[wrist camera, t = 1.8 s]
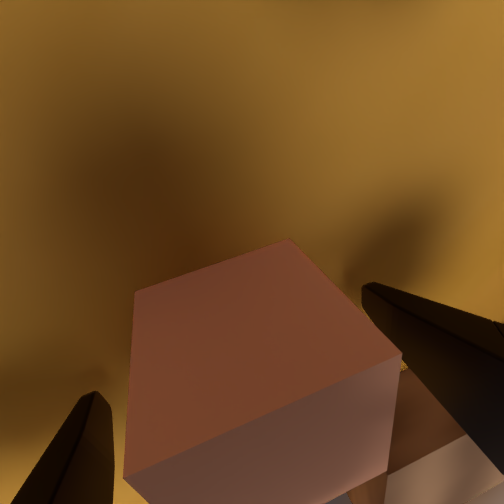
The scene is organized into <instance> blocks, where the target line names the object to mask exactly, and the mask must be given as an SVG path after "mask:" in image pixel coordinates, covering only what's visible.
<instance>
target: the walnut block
mask: <svg viewBox="0 0 504 504" xmlns="http://www.w3.org/2000/svg"><path fill="white" fill-rule="evenodd" d="M503 481H504V475H502V474H501V473H500V471H499V470H498V469H497V468H496V467H495V466H494V464H493V463H492V462H491V461H490V460H489V459H488V458H487V456H486V455H485V454H484V453H483V452H482V451H481V450H480V448H479V447H478V446H477V445H476V444H475V443H474V442H473V440H472V439H471V438H470V437H469V436H468V435H467V434H466V432H465V431H464V430H463V429H462V428H461V427H460V426H459V424H458V423H457V422H456V421H455V420H454V419H453V418H452V416H451V415H450V414H449V413H448V412H447V411H446V410H445V408H444V407H443V406H442V405H441V404H440V403H439V401H438V400H437V399H436V398H435V397H434V396H433V395H432V393H431V392H430V391H429V390H428V389H427V388H426V387H425V385H424V384H423V383H422V382H421V381H420V380H419V379H418V377H417V376H416V375H415V374H414V373H413V372H412V371H411V369H410V368H408V369H406V370H404V371H401V372H400V375H399V383H398V390H397V398H396V405H395V413H394V421H393V428H392V436H391V444H390V451H389V459H388V466H387V471H386V472H384V473H382V474H380V475H378V476H376V477H374V478H372V479H370V480H368V481H366V482H365V483H363V484H361V485H359V486H357V487H355V488H353V489H351V490H349V491H347V494H348V496H349V498H350V500H351V502H352V504H465V503H467V502H468V501H470V500H472V499H474V498H475V497H477V496H479V495H481V494H482V493H484V492H486V491H488V490H489V489H491V488H493V487H494V486H496V485H498V484H500V483H502V482H503Z"/></svg>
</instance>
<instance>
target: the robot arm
mask: <svg viewBox="0 0 504 504" xmlns="http://www.w3.org/2000/svg"><path fill="white" fill-rule="evenodd" d="M362 306H363V308H364V310H365V312H366V313H367V314H368V316H369V317H370V319H371V320H372V321H373V323H374V324H375V326H376V327H377V328H378V329H379V330H380V331H381V332H382V333H383V334H384V335H385V336H386V337H387V338H388V339H389V340H390V341H391V342H392V343H393V344H394V345H395V346H396V347H397V348H398V349H399V350H400V351H401V352H402V360H403V361H404V363H405V364H406V365H407V366H408V367H409V368H410V369H411V371H412V372H413V373H414V374H415V375H416V376H417V377H418V379H419V380H420V381H421V382H422V383H423V384H424V385H425V387H426V388H427V389H428V390H429V391H430V392H431V393H432V395H433V396H434V397H435V398H436V399H437V400H438V401H439V403H440V404H441V405H442V406H443V407H444V408H445V410H446V411H447V412H448V413H449V414H450V415H451V416H452V418H453V419H454V420H455V421H456V422H457V423H458V424H459V426H460V427H461V428H462V429H463V430H464V431H465V432H466V434H467V435H468V436H469V437H470V438H471V439H472V440H473V442H474V443H475V444H476V445H477V446H478V447H479V448H480V450H481V451H482V452H483V453H484V454H485V455H486V456H487V458H488V459H489V460H490V461H491V462H492V463H493V464H494V466H495V467H496V468H497V469H498V470H499V471H500V473H501V474H502V475H504V324H502V323H499V322H496V321H493V322H492V320H490V319H487V318H484V317H480V316H477V315H474V314H471V313H468V312H465V311H462V310H459V309H456V308H453V307H450V306H447V305H444V304H441V303H438V302H435V301H432V300H429V299H425V298H422V297H419V296H416V295H413V294H410V293H407V292H404V291H401V290H398V289H395V288H392V287H389V286H386V285H383V284H380V283H377V282H370V283H368V284H365V285H363V286H362ZM114 470H115V461H114V441H113V422H112V410H111V407H110V405H109V403H108V402H107V401H106V400H105V399H104V397H103V396H102V395H101V394H100V393H99V392H98V391H93V392H90V393H88V394H85V395H83V396H82V397H81V398H80V399H79V400H78V402H77V403H76V405H75V406H74V408H73V410H72V411H71V413H70V414H69V416H68V417H67V419H66V420H65V422H64V423H63V425H62V426H61V428H60V429H59V431H58V432H57V434H56V435H55V437H54V438H53V440H52V441H51V443H50V444H49V446H48V447H47V449H46V450H45V452H44V453H43V455H42V456H41V458H40V460H39V461H38V463H37V464H36V466H35V467H34V469H33V470H32V472H31V473H30V475H29V476H28V478H27V479H26V481H25V482H24V484H23V485H22V487H21V488H20V490H19V491H18V493H17V494H16V496H15V497H14V499H13V500H12V502H11V503H10V504H113V491H114Z"/></svg>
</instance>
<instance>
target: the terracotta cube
mask: <svg viewBox="0 0 504 504" xmlns="http://www.w3.org/2000/svg"><path fill="white" fill-rule="evenodd" d="M401 360H402V352H401V351H400V350H399V349H398V348H397V347H396V346H395V345H394V344H393V343H392V342H391V341H390V340H389V339H388V338H387V337H386V336H385V335H384V334H383V333H382V332H381V331H380V330H379V329H378V328H377V327H376V326H375V325H374V324H373V323H372V322H371V321H370V320H369V319H368V318H367V317H366V316H365V315H364V314H363V313H362V312H361V311H360V310H359V309H358V308H357V306H356V305H355V304H354V303H353V302H352V301H351V300H350V299H349V298H348V297H347V296H346V295H345V294H344V293H343V292H342V291H341V290H340V289H339V288H338V287H337V286H336V285H335V284H334V283H333V282H332V281H331V280H330V279H329V278H328V277H327V276H326V275H325V274H324V273H323V272H322V271H321V270H320V269H319V268H318V267H317V266H316V265H315V264H314V263H313V262H312V261H311V260H310V259H309V258H308V257H307V256H306V255H305V254H304V253H303V252H302V251H301V250H300V249H299V248H298V247H297V246H296V245H295V244H294V242H293V241H292V240H291V239H290V238H288V239H285V240H283V241H280V242H277V243H274V244H271V245H268V246H265V247H262V248H259V249H257V250H254V251H251V252H248V253H245V254H242V255H239V256H236V257H233V258H230V259H228V260H225V261H222V262H219V263H216V264H213V265H210V266H207V267H204V268H201V269H199V270H196V271H193V272H190V273H187V274H184V275H181V276H178V277H175V278H173V279H170V280H167V281H164V282H161V283H158V284H155V285H152V286H149V287H146V288H144V289H141V290H138V291H135V296H134V312H133V327H132V343H131V359H130V375H129V390H128V406H127V422H126V438H125V454H124V469H123V479H124V480H125V481H126V482H127V483H128V484H129V485H130V486H131V487H133V488H134V489H135V490H136V491H137V492H138V493H139V494H140V495H141V496H142V497H143V498H144V499H145V500H146V501H147V502H148V503H149V504H324V503H326V502H328V501H330V500H332V499H334V498H336V497H337V496H339V495H342V494H344V493H345V492H347V491H349V490H351V489H353V488H355V487H357V486H359V485H361V484H363V483H365V482H366V481H368V480H370V479H372V478H374V477H376V476H378V475H380V474H382V473H384V472H386V471H387V466H388V459H389V451H390V444H391V436H392V428H393V421H394V413H395V405H396V398H397V390H398V383H399V375H400V367H401Z"/></svg>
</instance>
